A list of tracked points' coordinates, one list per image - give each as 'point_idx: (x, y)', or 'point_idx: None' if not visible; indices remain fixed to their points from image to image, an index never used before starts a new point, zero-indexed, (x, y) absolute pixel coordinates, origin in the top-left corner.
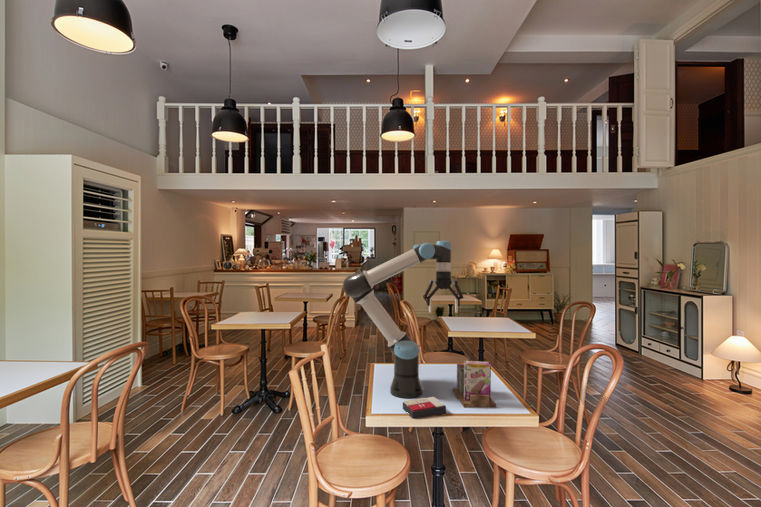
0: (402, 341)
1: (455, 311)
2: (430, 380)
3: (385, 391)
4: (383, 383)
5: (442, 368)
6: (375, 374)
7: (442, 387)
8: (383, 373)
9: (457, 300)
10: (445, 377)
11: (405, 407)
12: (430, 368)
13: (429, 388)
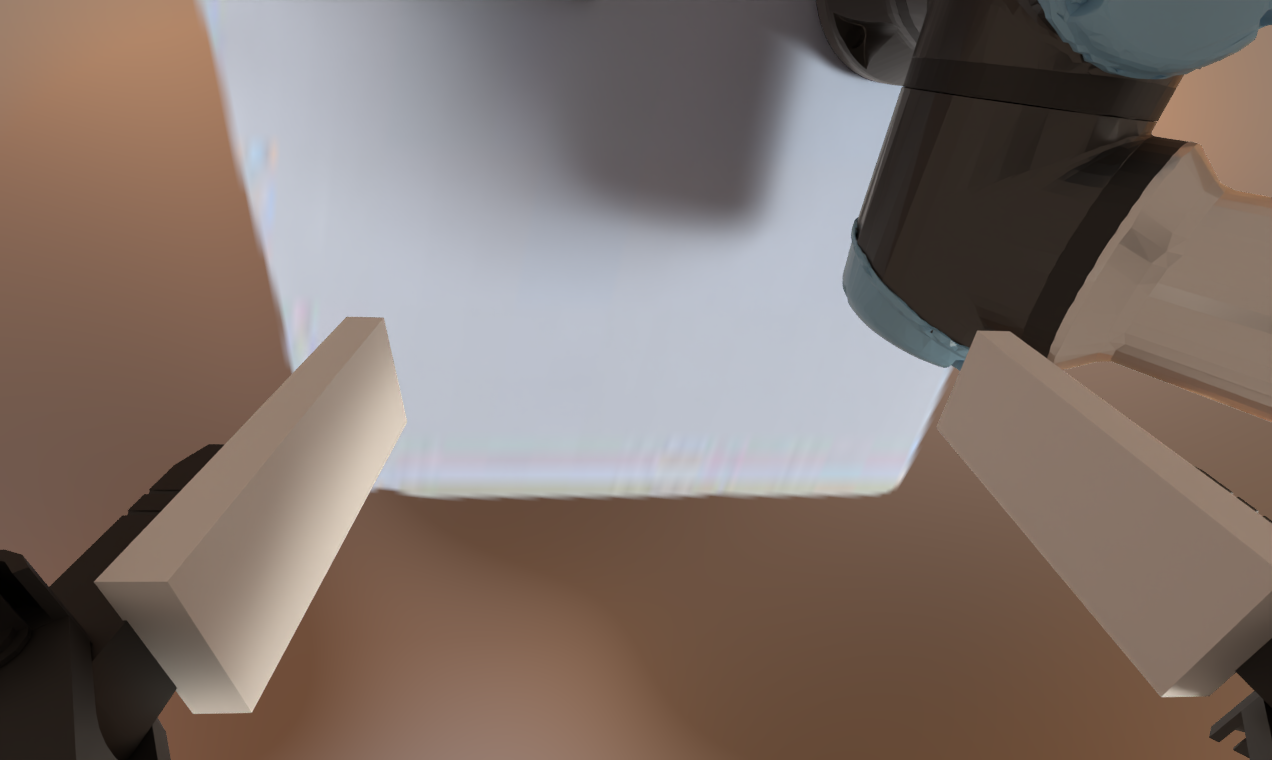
0: (1229, 20)
1: (392, 396)
2: (687, 221)
3: None
4: None
5: (567, 426)
6: None
7: (647, 75)
8: None
9: (128, 561)
10: (583, 275)
11: None
12: (633, 426)
13: (738, 56)
